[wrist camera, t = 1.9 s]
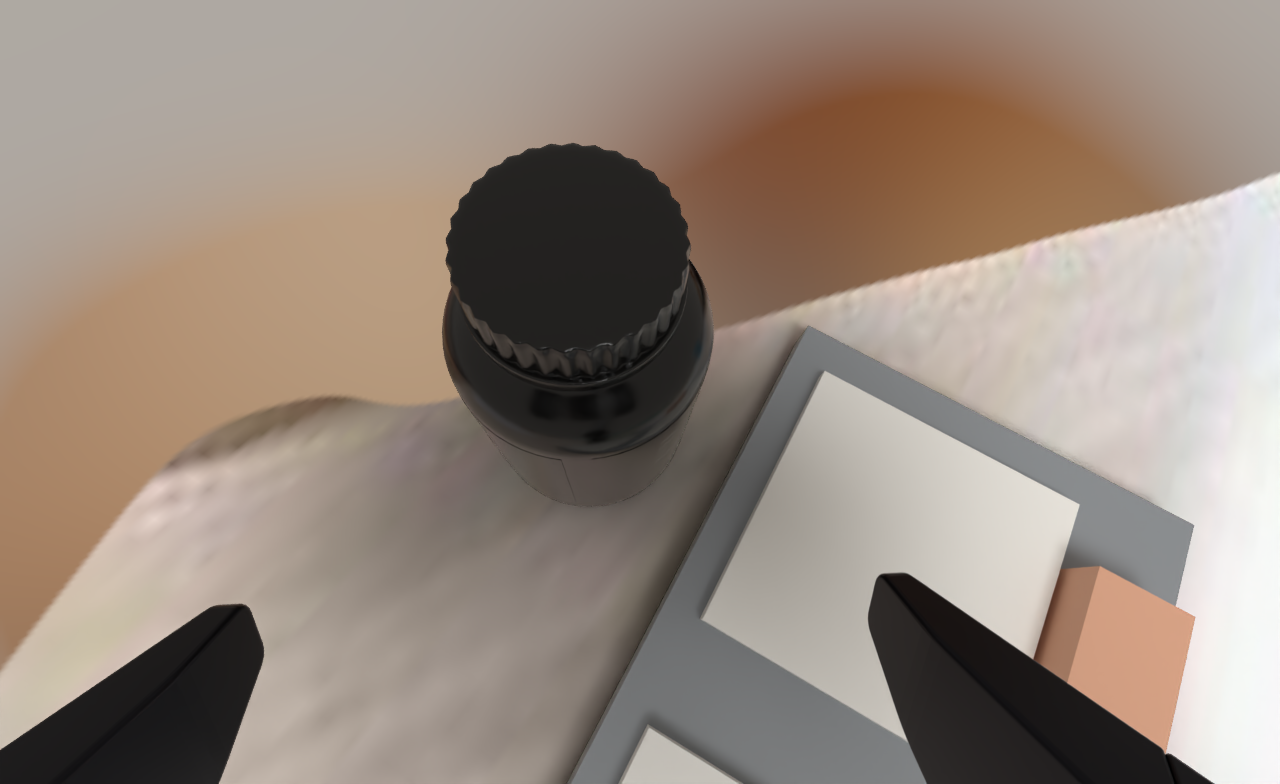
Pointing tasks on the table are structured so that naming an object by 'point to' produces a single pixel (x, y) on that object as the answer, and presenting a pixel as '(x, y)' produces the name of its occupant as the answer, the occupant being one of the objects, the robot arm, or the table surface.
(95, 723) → the robot arm
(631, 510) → the table surface
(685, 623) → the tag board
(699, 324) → the supplement bottle
